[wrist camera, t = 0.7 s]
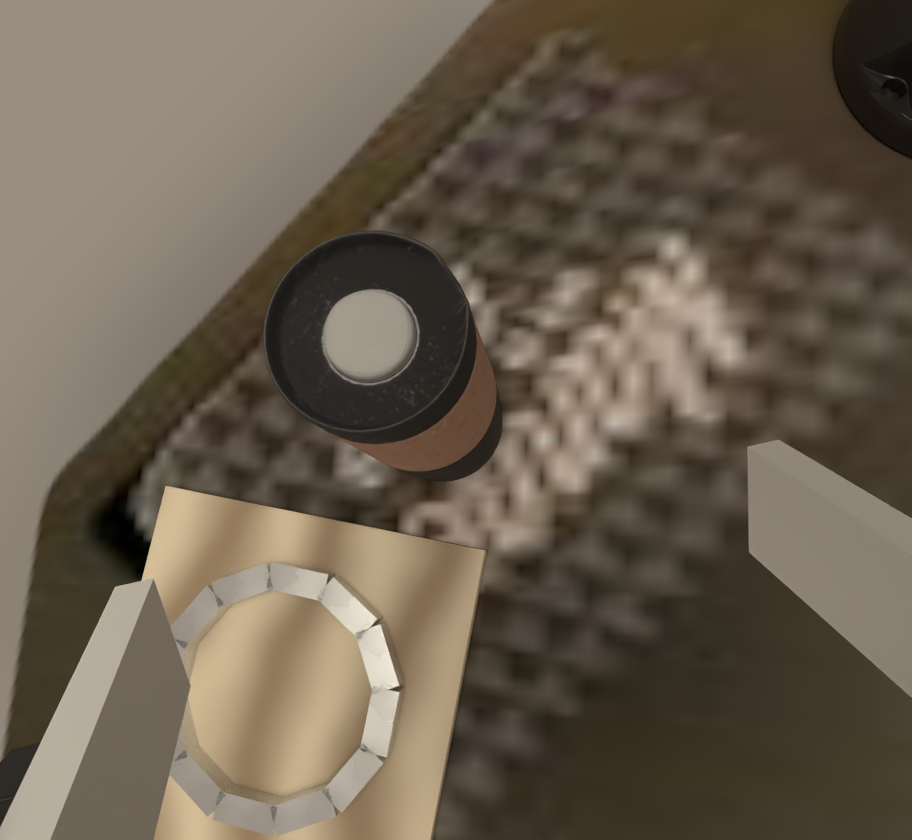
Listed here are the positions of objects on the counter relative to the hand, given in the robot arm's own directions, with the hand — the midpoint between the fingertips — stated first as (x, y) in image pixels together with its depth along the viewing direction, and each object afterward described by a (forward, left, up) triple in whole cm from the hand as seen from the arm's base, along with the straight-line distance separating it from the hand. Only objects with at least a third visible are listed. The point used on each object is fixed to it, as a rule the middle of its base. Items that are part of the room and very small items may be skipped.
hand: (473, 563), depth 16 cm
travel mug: (+6, -7, -28) cm, 29 cm away
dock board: (+12, +10, -28) cm, 32 cm away
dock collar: (+12, +10, -26) cm, 31 cm away
